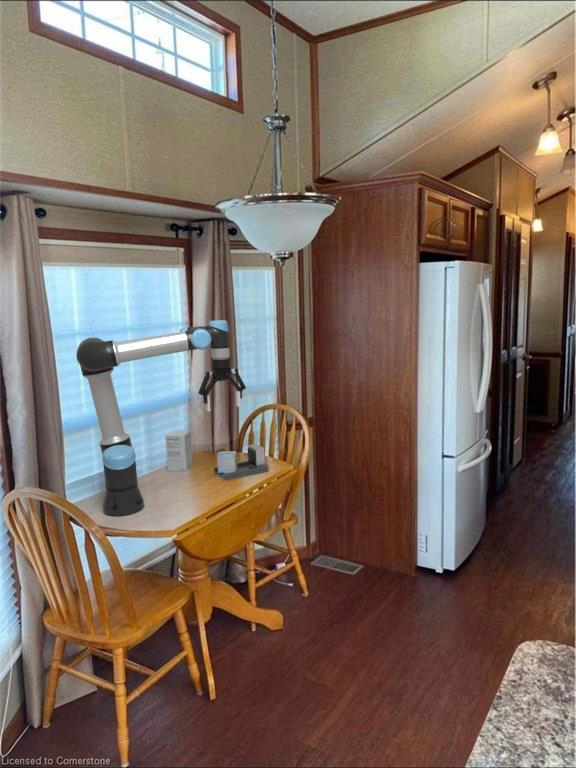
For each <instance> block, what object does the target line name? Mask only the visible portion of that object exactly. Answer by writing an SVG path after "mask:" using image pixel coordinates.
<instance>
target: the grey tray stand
mask: <svg viewBox="0 0 576 768" xmlns="http://www.w3.org/2000/svg"><path fill="white" fill-rule="evenodd" d="M247 446H248V447H247V459H248V460H246V461H241V462H237V471H235V472H230V473H218V466H216V467H213V473H215V475H216V474H217V475H218V476H219V477H218V476H217V475H216V476H217V477H218V478H220V477H221V478H222V479H221V478H220V479H221V480H223V481H224V480H226V481H229V480H228V479H231V480H234V479H233V478H236V479H239V478H238V477H240V478H243V476H245V477H249V475H250V476H254V475H259V474H264V473H267V472H269V466H268V465H267V464H265V463H266V461H265V460H266V459H265V447H263V446H261V445H259V444H257V443H254V444H249V445H247Z"/></svg>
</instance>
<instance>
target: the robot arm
mask: <svg viewBox="0 0 576 768" xmlns="http://www.w3.org/2000/svg"><path fill="white" fill-rule="evenodd" d="M229 333H230V332H229V325H228V321H227V320H225V319H216V320H210V321H209V325H205V326H201V325H200V326H185V327H180V329H179V332H172V333H165V334H161V335H153V336H147V337H142V338H141V337H140V338H136V339H130V340H123V341H115V340H113V339H112V340H104V339H101V338H99V337H88V338H85V339H83V340H81V342H80V343H79V345H78V347H77V351H76V353H75V354H76V360H77V363H78V365H79V367H80V371H81V374H82V377H83V378H85V379H87V380H88V386H89V389H90V393H91V397H92V400H93V405H94V408H95V413H96V417H97V421H98V425H99V429H100V430H99V431H100V433H101V439H100V441H99V446H100V449H101V450H100V451H101V455H102V458H101V459H102V465H103V475H104V484H105V495H104V498H103V503H102V512H103V514H104V515H106V516H111V517H123V516H129V515H132V514H135V513H138V512H139V511H142V510H143V509H144V507H145V500H144V497H143V496H142V493H141V491H140V488H139V485H138V474H137V472H138V471H137V464H136V463H137V460H136V457H137V455H136V453H135V450H134V447H133V445H132V442H131V438H130V437H131V436H130V434H128V433H126V432H125V428H124V424H123V419H122V416H121V412H120V409H119V403H118V399H117V395H116V392H115V387H114V383H113V379H112V373H113V372H114V370H115V369H114V367H115V368H116V367H119V366H120V365H121V364H122V363H126V362H131V361H137V360H143V359H149V358H155V357H161V356H165V355H171V354H177V353H182V352H188V351H195V350H200V351H201V350H206V349H208V348H209V347H210V355H211V356H210V357H211V358H212V359H211V371H208V370H205V371H204V377H203V380H202V383H201V385H200V388H199V390H198V395H200V396H202V397H203V404H204V405H205V411H206V412H211V401H210V395H209V393H210V392H211V391H212V389H213V387H214V386H215V385H216V383H217V382H222V381H228V382H229V383H230V384H231V385H232V386H233V387H234V388H235V389H236V391H235V401H236V402H235V403H236V407H238V408H241V407H242V406H241V399H243V391H244V390H246V389H247V387H246V385H245V383H244V381H243V380H242V377H241V376H240V373H239V369H238V368H236V367H233V368H231V358H230V355H231V353H230V339H229V337H230V335H229ZM231 374H232V375H234V377H235V379H234V378H232V376H231ZM211 376H212V378H211ZM210 378H211V380H210ZM235 380H236V381H235ZM209 381H210V382H209Z"/></svg>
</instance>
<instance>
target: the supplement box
mask: <svg viewBox="0 0 576 768" xmlns="http://www.w3.org/2000/svg"><path fill="white" fill-rule="evenodd" d="M191 433H192V432H191V430H190V429H189V430H186V429H184V430H183V429H182V430H179V429H175V430H174V429H173V430H171V431H170V432H168V433H167V434H166V435H164V437H165V439H164V440H165V449H166V463H167V471H169V472H172V471H173V472H175V471H178V472H187V471H188V470H190V468H191V467H192V466H193V465H194V464H193V463H194V462H193V461H194V460H193V449H192V434H191ZM186 470H187V471H186Z"/></svg>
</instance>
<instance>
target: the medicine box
mask: <svg viewBox="0 0 576 768" xmlns="http://www.w3.org/2000/svg"><path fill="white" fill-rule="evenodd" d="M216 459H217V460H216V461H217V462H216V463H217V467H218V473H230V472H235V471H237V463H238V456H237V451H234V450H233V451H230V450H229V451H224V450H223V451H218V453H217V454H216Z"/></svg>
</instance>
